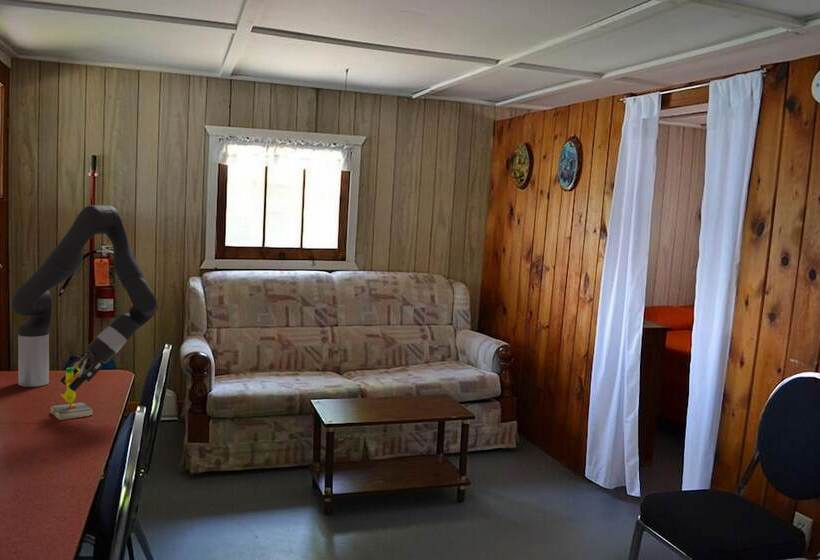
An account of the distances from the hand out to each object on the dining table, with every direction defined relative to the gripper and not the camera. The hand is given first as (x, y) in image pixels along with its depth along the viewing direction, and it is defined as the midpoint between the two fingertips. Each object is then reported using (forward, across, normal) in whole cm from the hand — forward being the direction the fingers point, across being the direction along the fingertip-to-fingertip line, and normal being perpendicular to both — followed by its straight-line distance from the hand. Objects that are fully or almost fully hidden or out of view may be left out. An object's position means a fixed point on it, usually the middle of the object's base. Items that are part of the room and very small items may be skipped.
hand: (66, 386), depth 208 cm
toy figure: (+4, 0, +6) cm, 7 cm away
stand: (+5, 0, +7) cm, 9 cm away
